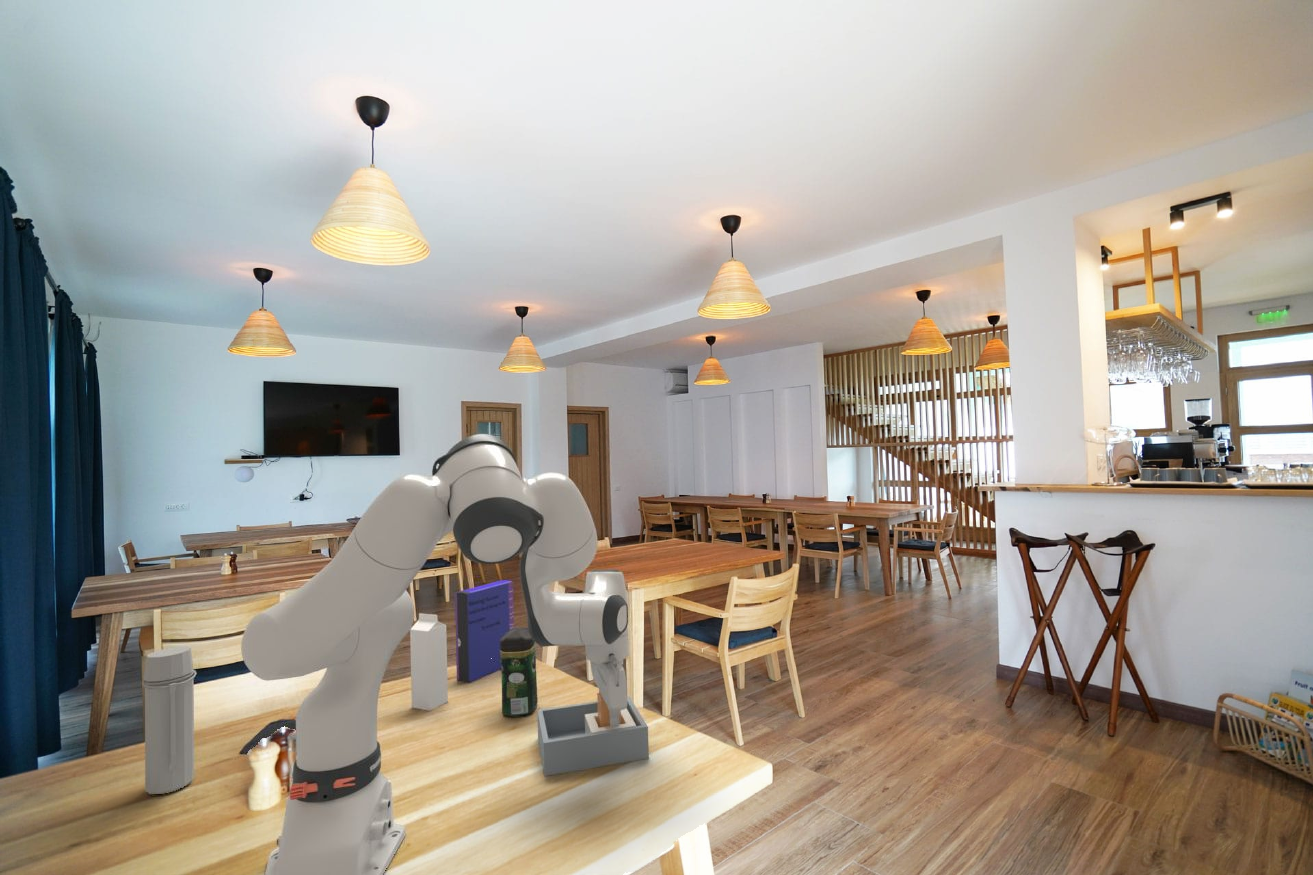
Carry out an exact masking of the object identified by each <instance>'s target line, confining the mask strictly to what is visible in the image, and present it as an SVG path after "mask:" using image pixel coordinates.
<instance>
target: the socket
mask: <svg viewBox="0 0 1313 875" xmlns="http://www.w3.org/2000/svg"><path fill="white" fill-rule="evenodd" d="M634 726H636V724H635V722H634V721H633V719H632V717H631V715H630V714H629V712H628V710H627V708H626V709H624V710H621V724H619V726H617V727H611V726H606V727H600V728H599V727H598V713H591V714H585V734H590V733H596V732H602V731H609V730H615V729H621V728H628V727H634Z"/></svg>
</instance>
